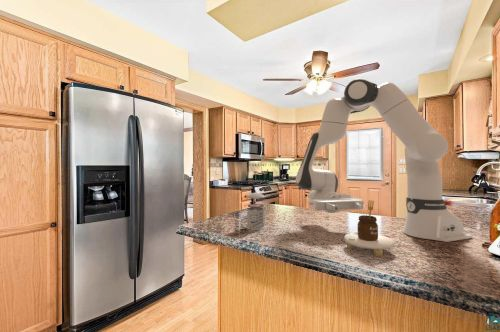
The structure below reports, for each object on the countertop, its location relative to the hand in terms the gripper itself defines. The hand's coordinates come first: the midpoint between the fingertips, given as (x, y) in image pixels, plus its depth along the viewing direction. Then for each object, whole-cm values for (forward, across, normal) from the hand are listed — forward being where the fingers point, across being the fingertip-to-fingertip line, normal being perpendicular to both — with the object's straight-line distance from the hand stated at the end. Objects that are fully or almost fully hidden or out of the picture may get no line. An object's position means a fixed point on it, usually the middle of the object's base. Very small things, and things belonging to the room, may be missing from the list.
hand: (347, 207), depth 90 cm
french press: (-22, -30, +12) cm, 39 cm away
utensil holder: (+12, 0, +8) cm, 14 cm away
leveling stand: (+12, 0, +12) cm, 17 cm away
